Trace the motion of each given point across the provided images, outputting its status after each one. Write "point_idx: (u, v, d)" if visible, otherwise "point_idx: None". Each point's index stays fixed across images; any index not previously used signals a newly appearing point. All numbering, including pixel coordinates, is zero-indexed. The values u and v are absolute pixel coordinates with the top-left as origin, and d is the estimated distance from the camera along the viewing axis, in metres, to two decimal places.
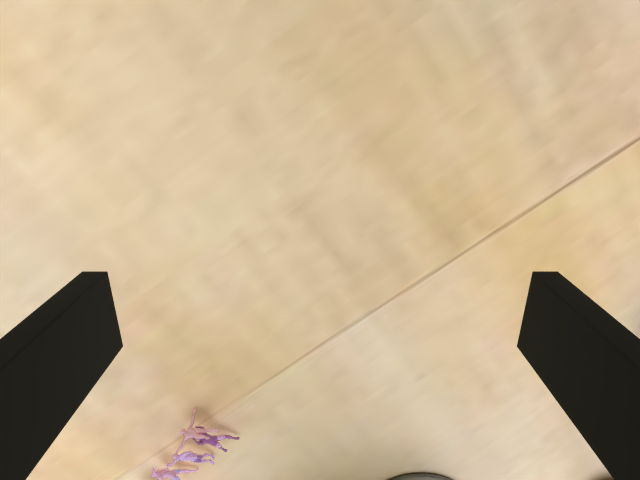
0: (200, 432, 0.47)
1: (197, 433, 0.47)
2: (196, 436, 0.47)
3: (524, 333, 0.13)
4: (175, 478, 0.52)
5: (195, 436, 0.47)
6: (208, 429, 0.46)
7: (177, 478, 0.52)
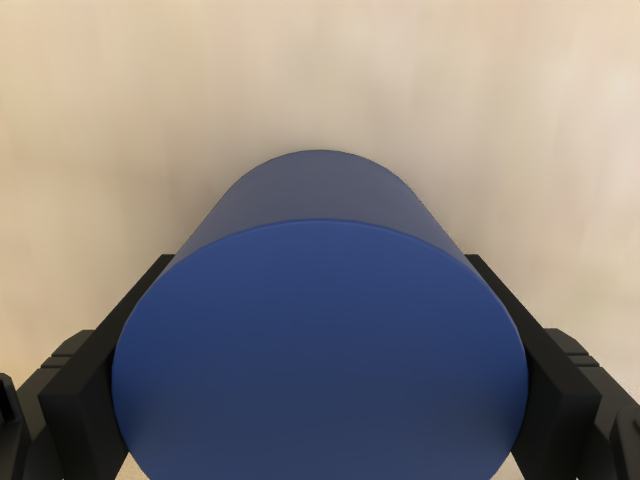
0: None
1: None
2: None
3: None
4: None
5: None
6: None
7: None
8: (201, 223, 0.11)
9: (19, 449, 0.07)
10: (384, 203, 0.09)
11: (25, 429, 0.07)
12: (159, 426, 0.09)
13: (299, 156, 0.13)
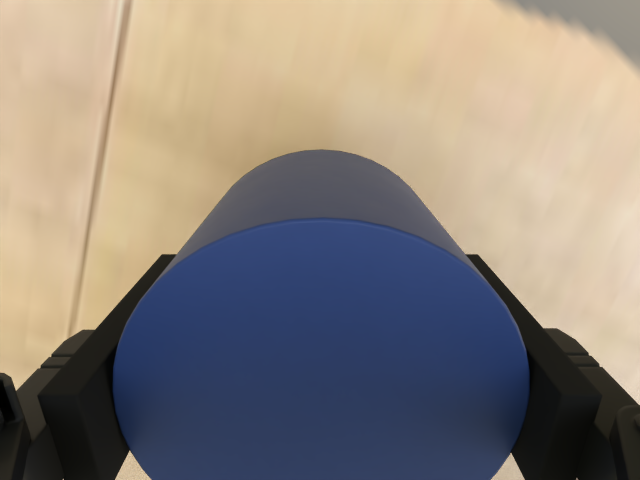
0: None
1: None
2: None
3: None
4: None
5: None
6: None
7: None
8: None
9: (19, 449, 0.07)
10: (385, 203, 0.09)
11: (25, 429, 0.07)
12: (160, 425, 0.09)
13: (300, 156, 0.13)
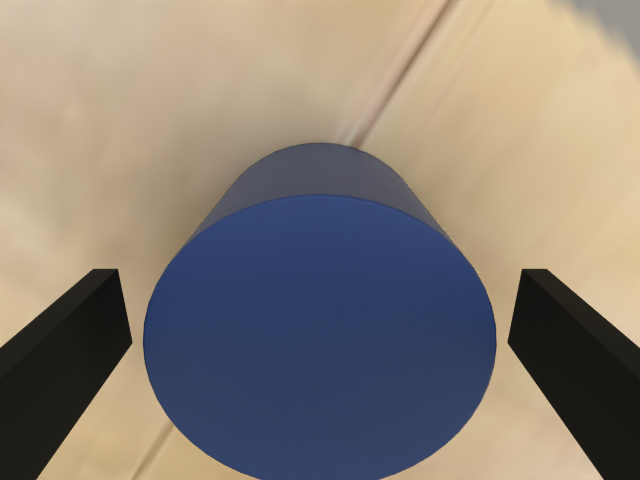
0: None
1: None
2: None
3: (514, 329, 0.13)
4: None
5: None
6: None
7: None
8: (216, 205, 0.13)
9: None
10: (374, 185, 0.11)
11: None
12: (183, 375, 0.11)
13: (301, 148, 0.15)
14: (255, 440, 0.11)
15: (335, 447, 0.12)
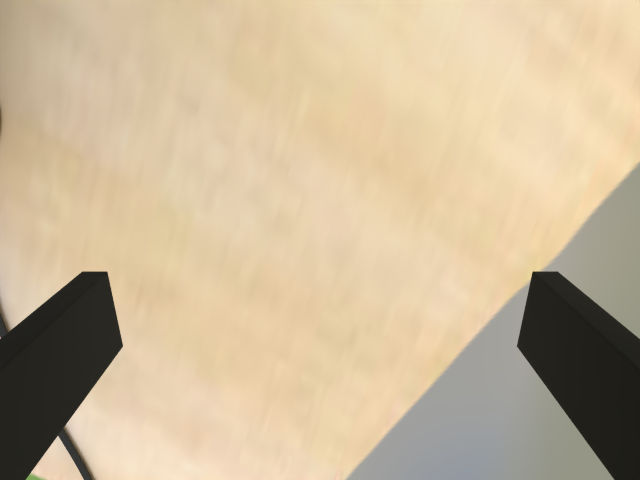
0: None
1: None
2: None
3: (524, 333, 0.13)
4: None
5: None
6: None
7: None
8: None
9: None
10: None
11: None
12: None
13: None
14: None
15: None
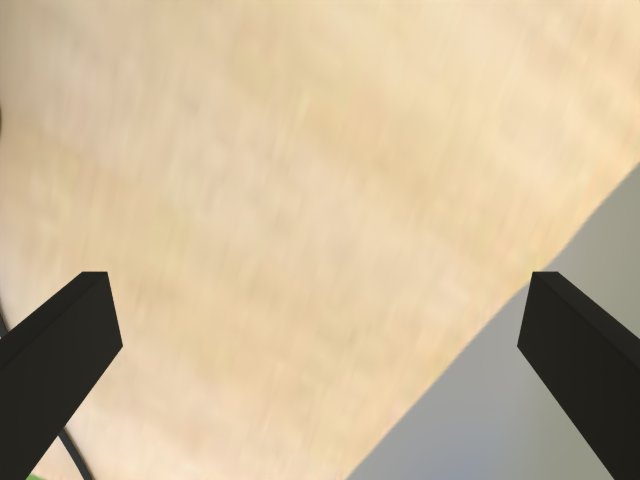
0: None
1: None
2: None
3: (524, 333, 0.13)
4: None
5: None
6: None
7: None
8: None
9: None
10: None
11: None
12: None
13: None
14: None
15: None
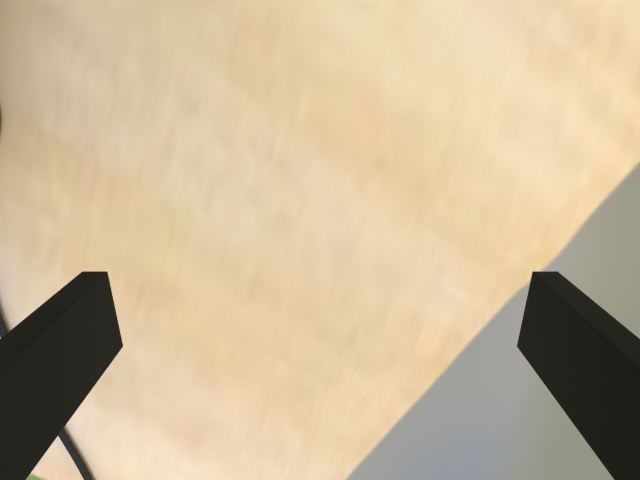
0: None
1: None
2: None
3: (524, 333, 0.13)
4: None
5: None
6: None
7: None
8: None
9: None
10: None
11: None
12: None
13: None
14: None
15: None
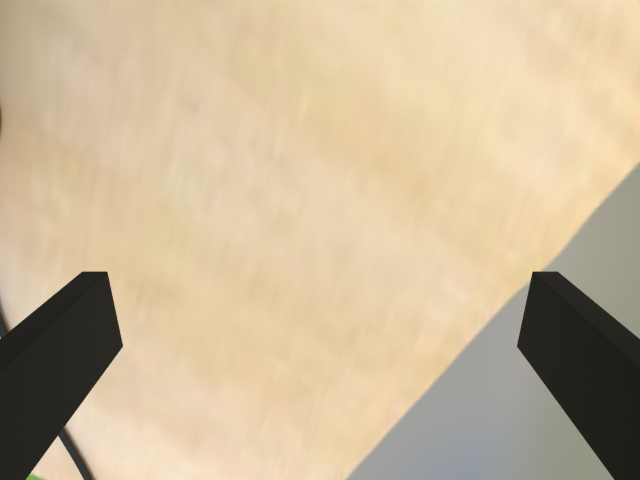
0: None
1: None
2: None
3: (524, 333, 0.13)
4: None
5: None
6: None
7: None
8: None
9: None
10: None
11: None
12: None
13: None
14: None
15: None
